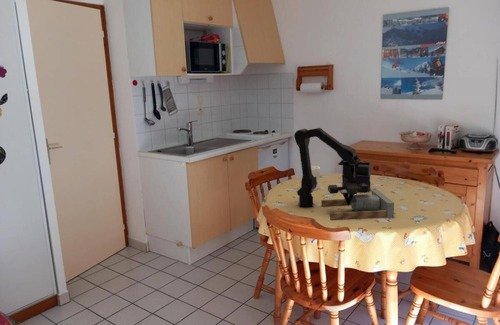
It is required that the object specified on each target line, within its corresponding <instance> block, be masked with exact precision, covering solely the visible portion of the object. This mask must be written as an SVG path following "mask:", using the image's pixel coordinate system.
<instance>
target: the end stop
mask: <svg viewBox="0 0 500 325" xmlns="http://www.w3.org/2000/svg"><path fill="white" fill-rule="evenodd" d="M371 195H376V196H378V198H379V199H380V207H379V209H378V210H386V211H387V217H386V218H387V219H388V218H390V219H391V218H395V217H394V216H395V215H394V214H395V202H394V201H393V200H391V199H390V197H387V196H386V195H385V194H383V193H382V191H380V190H379V189H371Z"/></svg>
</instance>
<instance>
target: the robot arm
mask: <svg viewBox="0 0 500 325" xmlns="http://www.w3.org/2000/svg"><path fill="white" fill-rule="evenodd" d="M312 138H317V139H319V140H320V141H322V142H323V143H325V144H326V145H327V146H328V147H330V148H331V149H333V150H334V151H335V152H336V153H337V155H338V157H339V158H341V161H339V162H338V163H337V166H341V167H342V171H341V172H342V173H341V174H342V175H341V180H342V181H341V186H338V185H336V184H329V185H327V191H328V193H329V194H338V193H340V194H341V195H342V196H343V199H345V201H346V204H347V205H346V206H350V205H349V204H350V202H351V199H352V197H353V196H354V195H358V192H357V191H358V190H361V191H362V192H367V193H370V192H369V187H368V186H367V185H366V184H362V183H361V182H357V183H356V181H355V173H356V174H357V175H359V176H369V177H370V178H371V175H372V171H373V168H372V165H371V161H362V160H361V159H360V157H359V156H358V154H357V150H356V149H355V148H353V147H351V146H349V145H346V144H344V143H341V142H340V141H339V140H337V139H336V138H335V137H333V136H332V135H330V134H329V133H327V132H326V131H325V130H323V128H321V127H317V128H312V129H307V128H302V129H301V128H300V129H298V130H296V131H295V132H294V139H295V140H294V141H295V143H296V145H297V147H298V150H299V156H300V164H301V172H302V177H301V182H300V183H301V184H300V185H301V187H300V188H299V189H298V190H297V191H296V193H297V196H298V206H299V208H311V207H313V205H314V197H313V194H312V193H313V192H314V191H315V190H314V189H315V188H316V185H317V184H318V185H319V182H318V183H317V180H316V179H317V178H316V177H314V176H313V175H312V171H311V166H312V165H311V157H310V156H311V155H310V148H309V146H310V140H311V139H312ZM313 208H314V207H313Z"/></svg>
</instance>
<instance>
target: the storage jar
mask: <svg viewBox="0 0 500 325" xmlns="http://www.w3.org/2000/svg"><path fill="white" fill-rule="evenodd" d="M355 181H356V183H357V182H361V183H362V184H366V185H367V186H368V187H369V192H362V191H361V190H358V191H357V194H358V193H360V194H366V193H367V194H368V193H370V192H371V185H372V184H371V176H370V177H369V176H359V175H357V174H356V173H355Z"/></svg>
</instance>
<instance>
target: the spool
mask: <svg viewBox="0 0 500 325" xmlns="http://www.w3.org/2000/svg"><path fill="white" fill-rule="evenodd" d="M350 207H351V209H352V211H353V212H356V211H377V210H378V209H379V207H380V199H379V198H378V196H376V195H372V193H371V194H368V193H367V194H366V193H361V194H355V195H354V196H353V197H352V199H351V205H350Z"/></svg>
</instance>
